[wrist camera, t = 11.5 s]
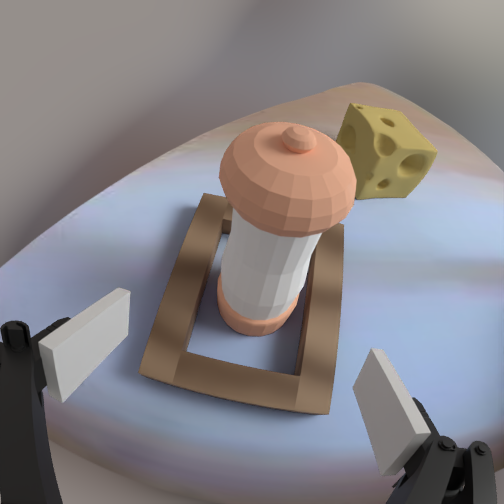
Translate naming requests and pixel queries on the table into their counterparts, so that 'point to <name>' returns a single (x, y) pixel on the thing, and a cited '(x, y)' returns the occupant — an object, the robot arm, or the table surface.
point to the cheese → (384, 151)
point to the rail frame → (233, 375)
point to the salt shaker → (277, 218)
